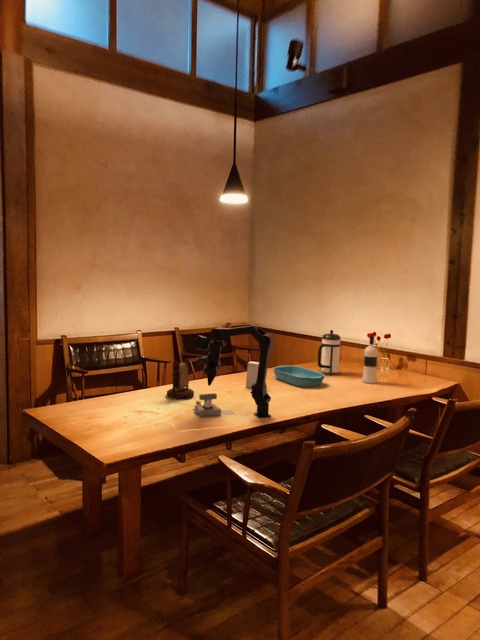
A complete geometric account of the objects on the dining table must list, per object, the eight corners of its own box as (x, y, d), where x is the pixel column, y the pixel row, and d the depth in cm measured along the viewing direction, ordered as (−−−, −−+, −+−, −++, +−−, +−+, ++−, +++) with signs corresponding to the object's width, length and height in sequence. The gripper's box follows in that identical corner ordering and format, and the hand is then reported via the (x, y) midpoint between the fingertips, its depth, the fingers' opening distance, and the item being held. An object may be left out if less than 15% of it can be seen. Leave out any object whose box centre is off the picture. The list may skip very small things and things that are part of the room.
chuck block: (220, 416, 248) (221, 409, 248) (200, 418, 244) (201, 411, 244) (207, 405, 266) (207, 398, 266) (188, 407, 263) (188, 400, 262)
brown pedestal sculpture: (179, 401, 273) (179, 363, 271) (161, 395, 283) (161, 359, 281) (199, 396, 284) (200, 360, 282) (181, 391, 294) (182, 356, 292)
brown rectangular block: (216, 413, 251) (217, 394, 250) (200, 415, 247) (201, 395, 246) (214, 411, 254) (214, 393, 253) (198, 413, 251) (199, 394, 250)
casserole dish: (331, 386, 319) (331, 374, 318) (302, 390, 307) (303, 378, 306) (293, 374, 350) (294, 364, 349) (266, 377, 338) (267, 366, 337)
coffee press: (316, 370, 364) (318, 328, 361) (340, 372, 362) (342, 329, 358) (317, 375, 347) (319, 331, 343) (341, 377, 345) (343, 332, 341)
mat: (236, 415, 251) (236, 414, 251) (225, 416, 249) (225, 415, 249) (230, 410, 258) (230, 409, 258) (219, 411, 256) (219, 410, 256)
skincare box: (245, 387, 309) (246, 362, 307) (249, 385, 314) (250, 360, 313) (259, 388, 306) (259, 364, 304) (262, 386, 311) (263, 362, 310)
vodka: (360, 382, 330) (363, 335, 327) (363, 380, 338) (366, 334, 335) (375, 384, 326) (377, 337, 323) (378, 381, 334) (380, 335, 331)
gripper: (201, 346, 267) (197, 375, 269) (195, 354, 248) (191, 385, 251) (222, 350, 266) (218, 379, 269) (218, 357, 248) (214, 389, 250)
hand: (210, 383), depth 259 cm, fingers open, 9 cm apart
